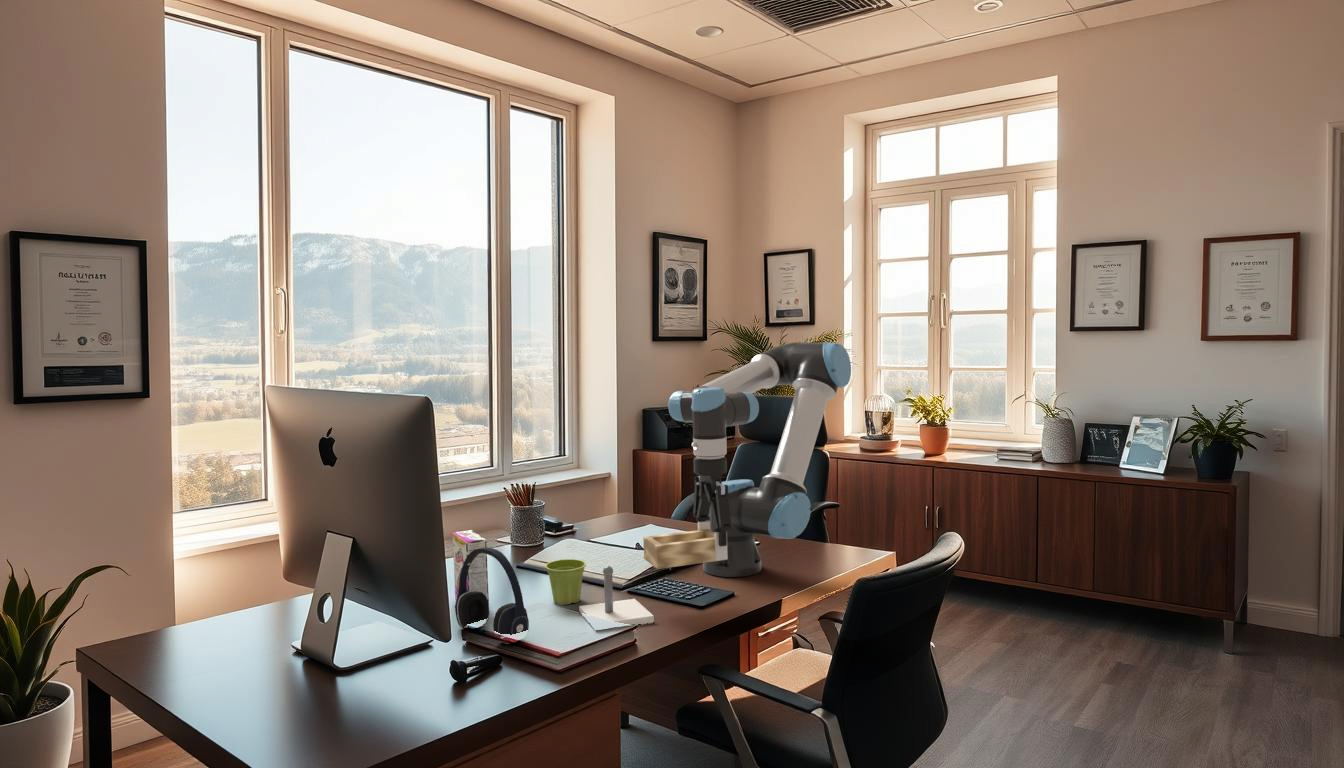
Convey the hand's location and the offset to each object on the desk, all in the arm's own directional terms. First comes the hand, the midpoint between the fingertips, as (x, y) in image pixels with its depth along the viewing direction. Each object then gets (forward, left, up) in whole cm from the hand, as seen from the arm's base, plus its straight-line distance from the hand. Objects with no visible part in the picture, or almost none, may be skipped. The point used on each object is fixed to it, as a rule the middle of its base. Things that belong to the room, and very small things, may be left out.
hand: (712, 554), depth 199 cm
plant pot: (+30, -16, -12) cm, 36 cm away
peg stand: (+23, 0, -11) cm, 26 cm away
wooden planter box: (+7, 0, 0) cm, 7 cm away
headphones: (+50, 0, -12) cm, 52 cm away
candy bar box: (+51, -22, -12) cm, 57 cm away
